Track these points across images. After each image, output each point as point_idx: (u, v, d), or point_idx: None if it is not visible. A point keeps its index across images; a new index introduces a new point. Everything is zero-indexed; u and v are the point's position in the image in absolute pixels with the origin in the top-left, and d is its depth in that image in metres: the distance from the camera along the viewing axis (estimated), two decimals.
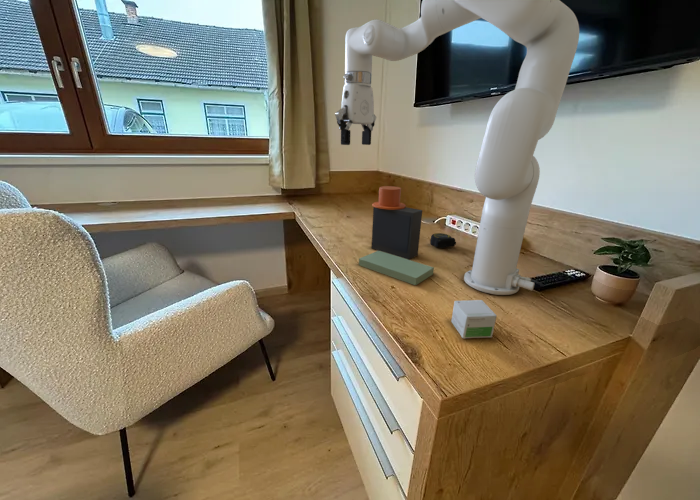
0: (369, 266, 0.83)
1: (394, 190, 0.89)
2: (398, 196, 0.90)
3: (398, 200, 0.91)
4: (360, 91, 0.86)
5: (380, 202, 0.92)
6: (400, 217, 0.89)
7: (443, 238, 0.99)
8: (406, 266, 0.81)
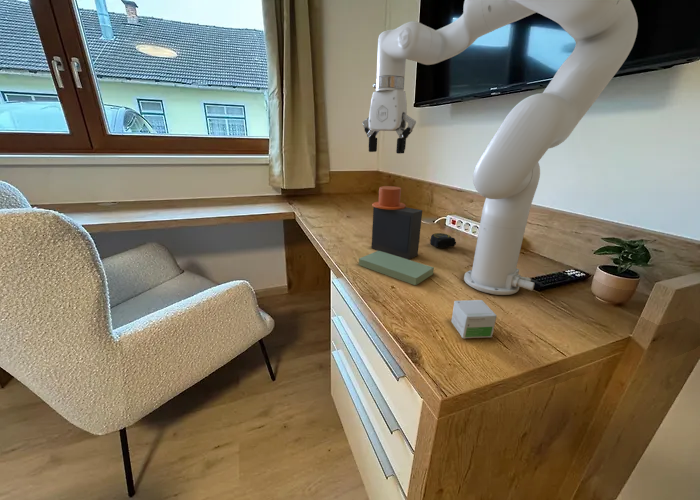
0: (369, 266, 0.83)
1: (394, 190, 0.89)
2: (398, 196, 0.90)
3: (398, 200, 0.91)
4: (377, 97, 0.84)
5: (380, 202, 0.92)
6: (400, 217, 0.89)
7: (443, 238, 0.99)
8: (406, 266, 0.81)
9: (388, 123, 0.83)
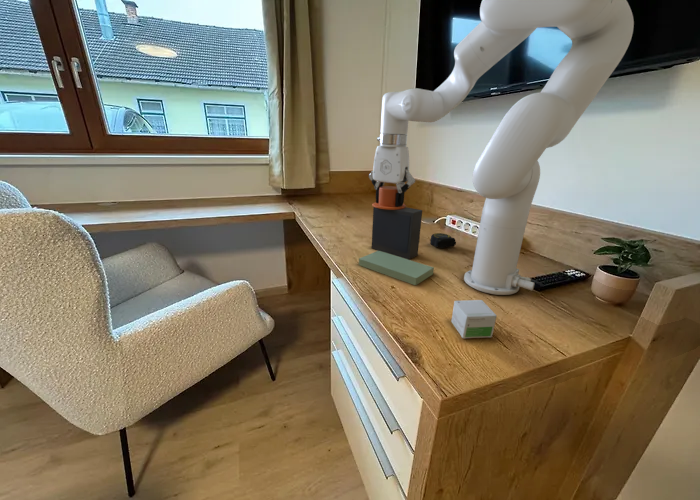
0: (369, 266, 0.83)
1: (394, 190, 0.89)
2: None
3: None
4: (381, 152, 0.88)
5: (380, 202, 0.92)
6: (400, 217, 0.89)
7: (443, 238, 0.99)
8: (406, 266, 0.81)
9: (391, 177, 0.87)
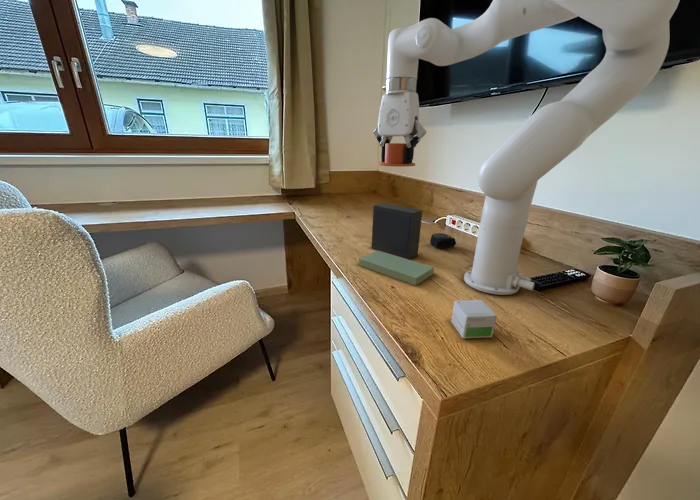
0: (369, 266, 0.83)
1: (402, 144, 0.79)
2: None
3: None
4: (387, 101, 0.77)
5: (386, 160, 0.82)
6: (400, 217, 0.89)
7: (443, 238, 0.99)
8: (406, 266, 0.81)
9: (399, 128, 0.77)
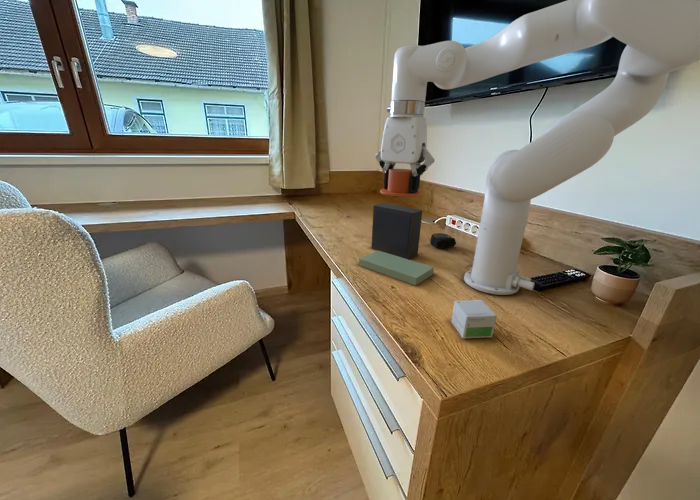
0: (369, 266, 0.83)
1: (408, 172, 0.72)
2: None
3: None
4: (392, 125, 0.70)
5: (390, 188, 0.74)
6: (400, 217, 0.89)
7: (443, 238, 0.99)
8: (406, 266, 0.81)
9: (405, 155, 0.70)
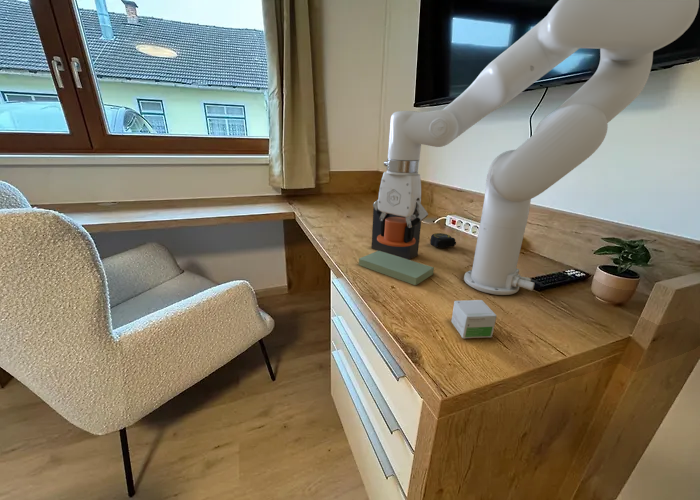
0: (369, 266, 0.83)
1: (403, 224, 0.76)
2: None
3: None
4: (388, 180, 0.75)
5: (386, 236, 0.79)
6: None
7: (443, 238, 0.99)
8: (406, 266, 0.81)
9: (400, 209, 0.74)
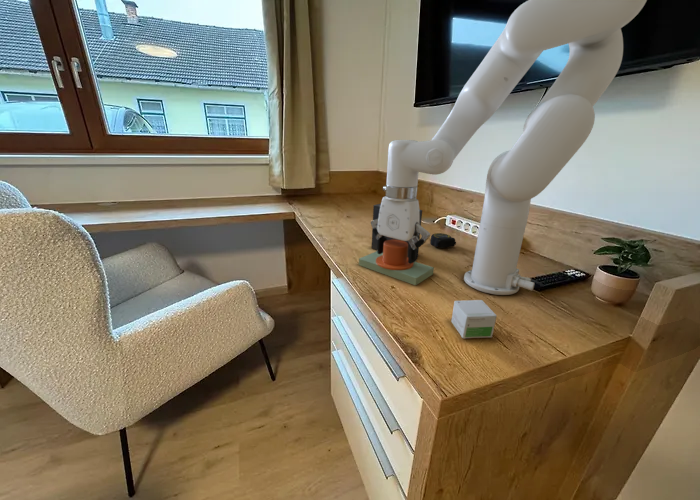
0: (369, 266, 0.83)
1: (401, 248, 0.78)
2: (405, 254, 0.80)
3: (405, 258, 0.80)
4: (387, 205, 0.77)
5: (384, 260, 0.81)
6: None
7: (443, 238, 0.99)
8: None
9: (399, 233, 0.76)
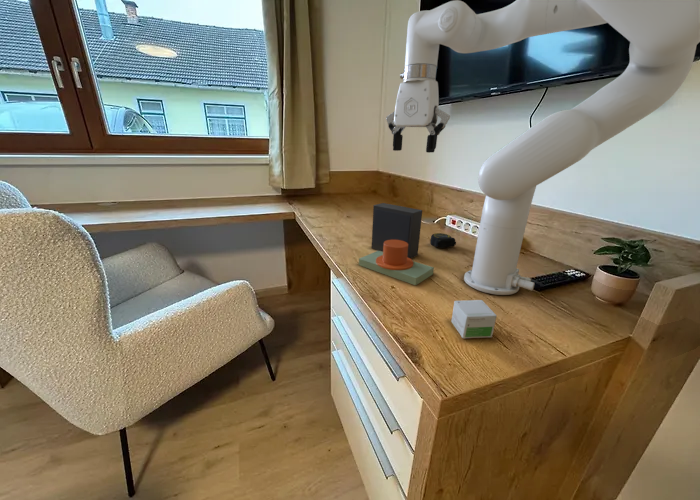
0: (369, 266, 0.83)
1: (401, 248, 0.78)
2: (405, 254, 0.80)
3: (405, 258, 0.80)
4: (405, 89, 0.74)
5: (384, 260, 0.81)
6: (400, 217, 0.89)
7: (443, 238, 0.99)
8: None
9: (418, 118, 0.74)
